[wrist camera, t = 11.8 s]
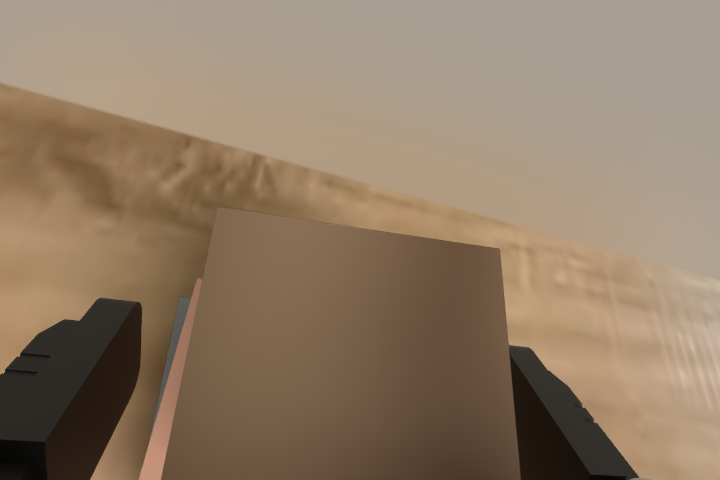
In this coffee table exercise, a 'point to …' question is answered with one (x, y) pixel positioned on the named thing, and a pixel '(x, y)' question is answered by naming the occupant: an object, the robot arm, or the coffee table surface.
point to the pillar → (344, 358)
